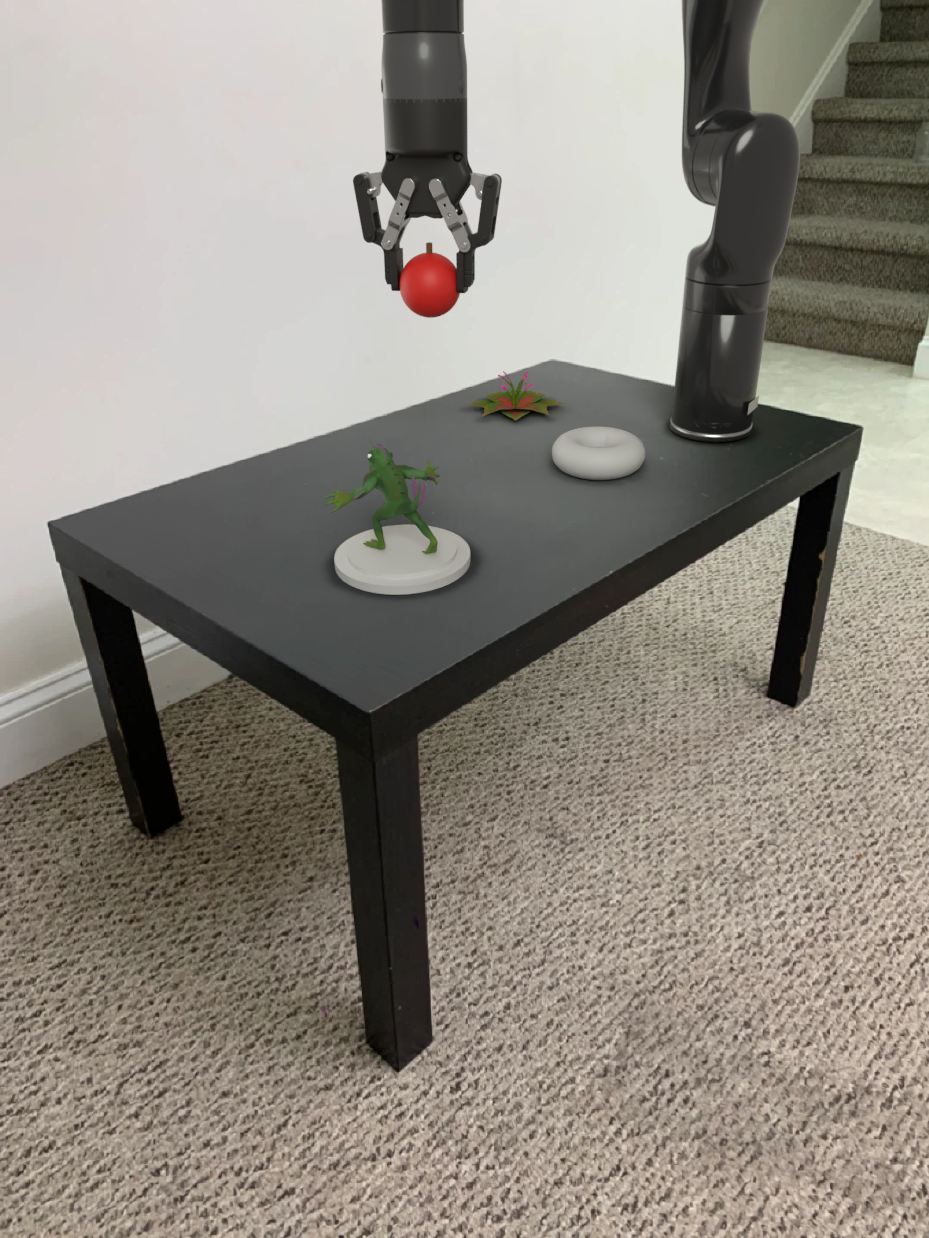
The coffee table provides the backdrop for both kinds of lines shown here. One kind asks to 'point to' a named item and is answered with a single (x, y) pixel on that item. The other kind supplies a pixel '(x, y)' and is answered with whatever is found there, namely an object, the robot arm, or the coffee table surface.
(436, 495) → the coffee table surface
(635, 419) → the coffee table surface
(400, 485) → the monster figurine
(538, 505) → the coffee table surface
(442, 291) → the apple
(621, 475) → the donut
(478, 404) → the lily flower
